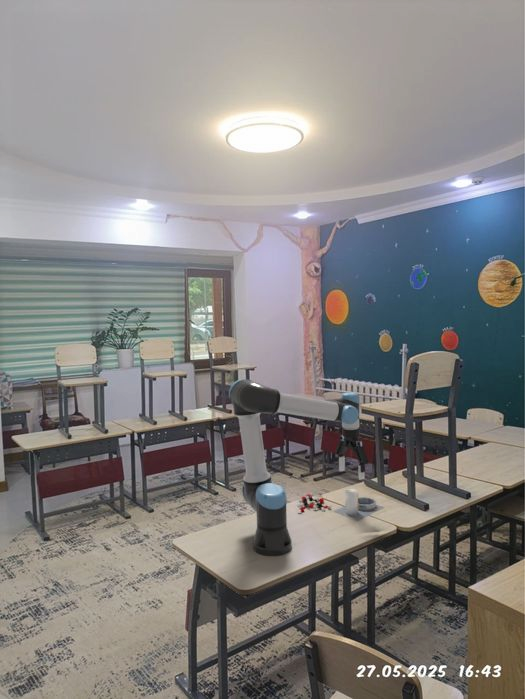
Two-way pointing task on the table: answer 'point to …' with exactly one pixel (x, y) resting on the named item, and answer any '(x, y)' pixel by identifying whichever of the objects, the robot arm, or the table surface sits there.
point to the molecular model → (312, 504)
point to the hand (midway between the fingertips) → (351, 475)
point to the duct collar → (368, 501)
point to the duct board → (360, 513)
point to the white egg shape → (351, 502)
